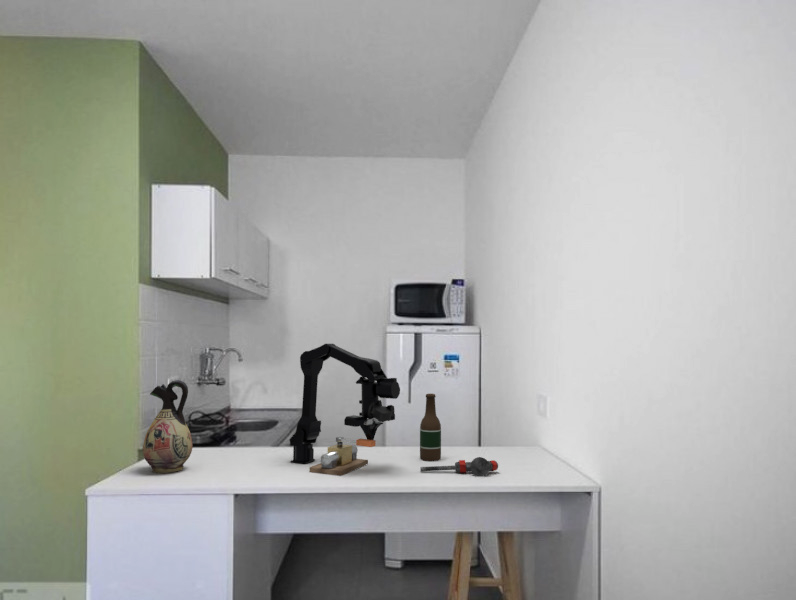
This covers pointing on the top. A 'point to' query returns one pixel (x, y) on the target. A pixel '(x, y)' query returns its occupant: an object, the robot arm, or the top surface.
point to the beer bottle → (430, 432)
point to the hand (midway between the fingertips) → (370, 444)
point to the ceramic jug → (168, 432)
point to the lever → (357, 441)
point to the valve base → (339, 468)
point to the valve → (468, 467)
